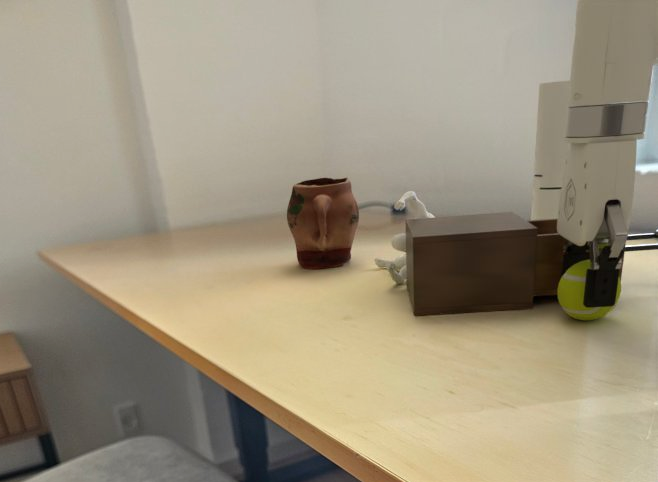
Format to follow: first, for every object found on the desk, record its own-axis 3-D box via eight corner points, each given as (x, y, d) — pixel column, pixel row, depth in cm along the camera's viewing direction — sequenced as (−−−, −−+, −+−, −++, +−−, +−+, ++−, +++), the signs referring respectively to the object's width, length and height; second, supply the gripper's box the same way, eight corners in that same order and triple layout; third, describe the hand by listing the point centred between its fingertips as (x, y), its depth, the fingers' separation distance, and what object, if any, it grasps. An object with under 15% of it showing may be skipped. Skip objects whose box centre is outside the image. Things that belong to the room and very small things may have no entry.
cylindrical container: (556, 251, 110) (570, 81, 99) (584, 257, 104) (602, 77, 93) (519, 256, 109) (529, 84, 97) (546, 263, 102) (559, 81, 91)
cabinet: (508, 281, 94) (512, 211, 90) (532, 308, 81) (538, 228, 77) (406, 288, 95) (405, 219, 91) (413, 316, 82) (412, 237, 78)
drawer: (649, 267, 92) (658, 208, 88) (693, 290, 80) (705, 223, 76) (488, 278, 93) (490, 220, 90) (507, 301, 82) (510, 237, 78)
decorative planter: (369, 273, 106) (365, 181, 100) (295, 281, 106) (286, 188, 99) (353, 252, 124) (348, 172, 118) (289, 258, 123) (281, 178, 117)
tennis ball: (550, 326, 74) (555, 266, 71) (559, 310, 80) (564, 253, 77) (614, 329, 72) (622, 267, 69) (619, 312, 77) (626, 254, 74)
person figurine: (380, 196, 107) (398, 185, 90) (456, 208, 108) (487, 199, 91) (368, 278, 111) (382, 282, 94) (441, 288, 112) (469, 294, 95)
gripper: (545, 127, 75) (533, 281, 82) (594, 129, 59) (574, 318, 67) (613, 122, 74) (595, 277, 82) (680, 122, 58) (650, 315, 66)
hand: (585, 295), depth 74 cm, fingers open, 8 cm apart
